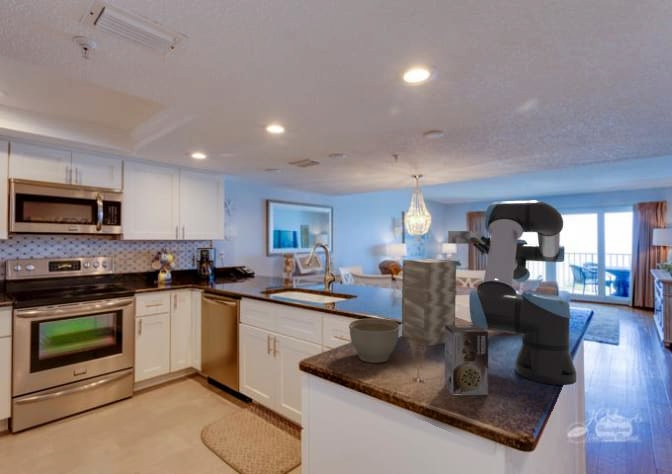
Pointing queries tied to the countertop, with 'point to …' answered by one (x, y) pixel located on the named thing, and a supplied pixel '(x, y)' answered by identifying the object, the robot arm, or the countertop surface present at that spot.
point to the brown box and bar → (462, 238)
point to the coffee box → (466, 359)
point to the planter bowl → (374, 338)
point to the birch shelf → (428, 299)
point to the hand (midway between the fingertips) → (472, 233)
